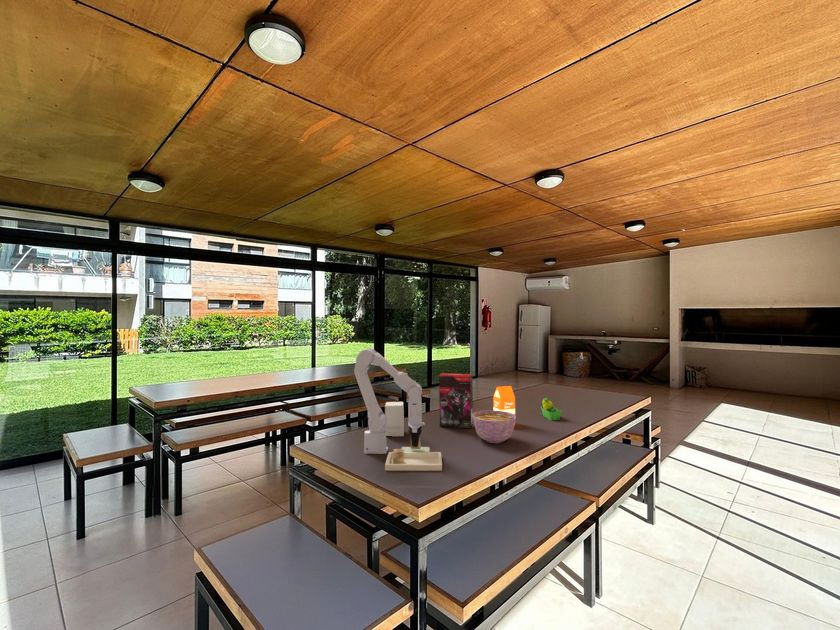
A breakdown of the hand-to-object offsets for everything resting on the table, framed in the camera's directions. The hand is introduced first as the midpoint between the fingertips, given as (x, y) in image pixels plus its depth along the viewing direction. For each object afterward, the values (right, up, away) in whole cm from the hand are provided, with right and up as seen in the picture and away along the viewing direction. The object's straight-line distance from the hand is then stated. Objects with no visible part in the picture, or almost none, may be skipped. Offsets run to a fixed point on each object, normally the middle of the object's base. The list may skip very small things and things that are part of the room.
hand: (415, 444), depth 168 cm
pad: (0, -3, 0) cm, 3 cm away
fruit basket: (+75, -3, +54) cm, 93 cm away
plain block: (-6, -3, -14) cm, 15 cm away
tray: (0, -3, -14) cm, 14 cm away
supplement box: (-10, -4, +26) cm, 28 cm away
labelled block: (0, -1, 0) cm, 1 cm away
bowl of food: (+36, -3, +15) cm, 40 cm away
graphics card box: (+21, -3, +39) cm, 44 cm away
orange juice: (+47, -3, +43) cm, 64 cm away
